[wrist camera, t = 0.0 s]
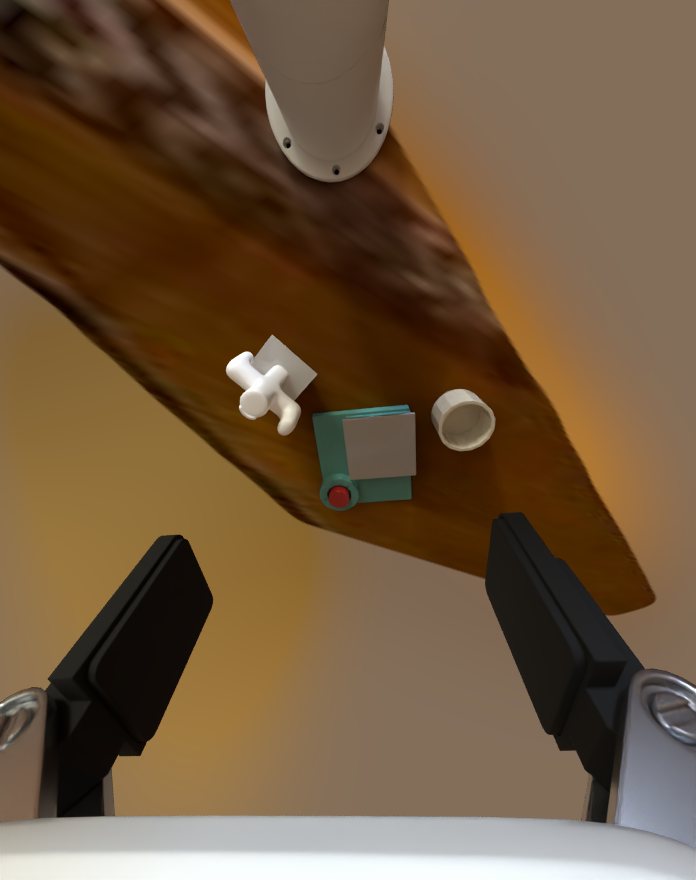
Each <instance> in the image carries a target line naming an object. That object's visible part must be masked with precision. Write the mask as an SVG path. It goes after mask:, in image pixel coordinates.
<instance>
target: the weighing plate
mask: <svg viewBox="0 0 696 880" xmlns="http://www.w3.org/2000/svg"><path fill="white" fill-rule="evenodd" d="M342 423H343V431H344V439H345V446H346V454H347V462H348V470H349V478H350V480H359V479H372V478H385V477H398V476H412V475H416V433H415V412H410V410H409V411H400V412H389V413H378V414H367V415H356V416H346V418H343V419H342Z"/></svg>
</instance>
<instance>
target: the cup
mask: <svg viewBox="0 0 696 880" xmlns="http://www.w3.org/2000/svg"><path fill="white" fill-rule="evenodd" d="M431 419H432V423H433V425H434V427H435V429H436V431H437V433H438V435H439V437H440V439H441V440H442V442H443V443H444V444H445V445H446V446H447V447H449V448H450V449H453V450H457V451H470V450H473V449H475V448H477V447H480V446H481V445H483V444H484V443H485V442H486V441H487V440H488V439H489V438H490V436H491V434H492V433H493V431H494V427H495V417H494V414H493V412H492V410H491V409H490V408H489V407H488V406H487V405H486V404H485V403H484V402H483V401H482V400H481V399H480V398H479V397H477V396H476V395H475V394H474V393H473V392H471V391H468V390H464V389H456V390H452V391H449V392H447V393H445V394H443V395H442V396H441V397H440V398H439V399H438V400H437V401H436V402H435V404H434V406H433V408H432V412H431Z"/></svg>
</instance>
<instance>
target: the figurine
mask: <svg viewBox="0 0 696 880" xmlns="http://www.w3.org/2000/svg"><path fill="white" fill-rule="evenodd" d="M226 373H227V375H228V376H229V377H230V378H231V379H232V380H233V381H234V382H236V383H237V384H238V385H240V386H241V387H242V388H243V389H245V390H246V391H245V392H244V393H243V394H242V396H241V398H240V406H239V409H240V411H241V413H242V414H243V415H244V416H245V417H246V418H249V419H253V420H255V419H256V418H257V417H261V416H263V415H265V414H266V413H267V411H268V410H269V409H270V410H271V411H273V412H274V413H275V414H276V415H278V416H279V418H280V422H279V424H278V428H277V429H278V432H279V433H280V434H281V435H288V434H290V433H291V432H292V431H293V430H294V428H295V426H296V424H297V422H298V420H299V417H300V414H301V408H300V406H299V405H298V404H297V403H296V402H295V401H294V400H295V399H296V398H297V397H298V396H299V395H300V394H301V392H302V391H303V390H304V389H305V388H306V387H307V386H308V384H309V383H310V382H311V381H312V380H313V379H314V378H315V376H316V375H317V373H316V372H314V371H313V370H312V369H311V368H310V367H309V366H308V365H306V364H305V363H304V362H303V361H302V360H301V359H300V358H298V357H297V356H296V355H295V354H294V353H293V352H292V351H290V350H289V349H288V348H287V347H286V346H285V345H283V344H282V343H281V342H280V341H279V340H278V339H277V338H275V337H274V336H273V335H271V337H270V338H269V339H268V341H267V342H266V343H265V345H264V346H263V347H262V349H261V350H260V351H259V352H258V354H257V355H256V356H255V358H254V357H253V355H252V353H250V352H244V353H242V354H240V355H239V356H237V357H235V358H234V359H233V360H231V361H230V363H229V364H228V366H227V368H226Z"/></svg>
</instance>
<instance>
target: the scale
mask: <svg viewBox="0 0 696 880" xmlns="http://www.w3.org/2000/svg"><path fill="white" fill-rule="evenodd" d="M400 411H409V407H408V405H401V406H390V407H379V408H368V409H357V410H346V411H335V412H324V413H314V414H313V416H312V420H313V426H314V431H315V437H316V443H317V449H318V455H319V461H320V466H321V472H322V478H323V483H322V485H321V487H320V498H321V501H322V502H323V503H324V505H325V506H326V507H328V508H330V509H333V510H336V511H342V510H348V509H349V508H351V507H353V506H354V505H355V504H356V503H364V502H379V501H393V500H407V499H411V476H398V477H385V478H372V479H359V480H350V478H349V470H348V462H347V454H346V446H345V439H344V431H343V423H342V419H343V418H346V416H356V415H367V414H378V413H389V412H400ZM335 486H343V487H345V488H346V489H347V490H348V491H349V503H348V504H347V505H346V506H345V507H343V508H336V507H333V506H332V505H331V504H330V503H329V492H330V490H331V489H332V488H333V487H335Z"/></svg>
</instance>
